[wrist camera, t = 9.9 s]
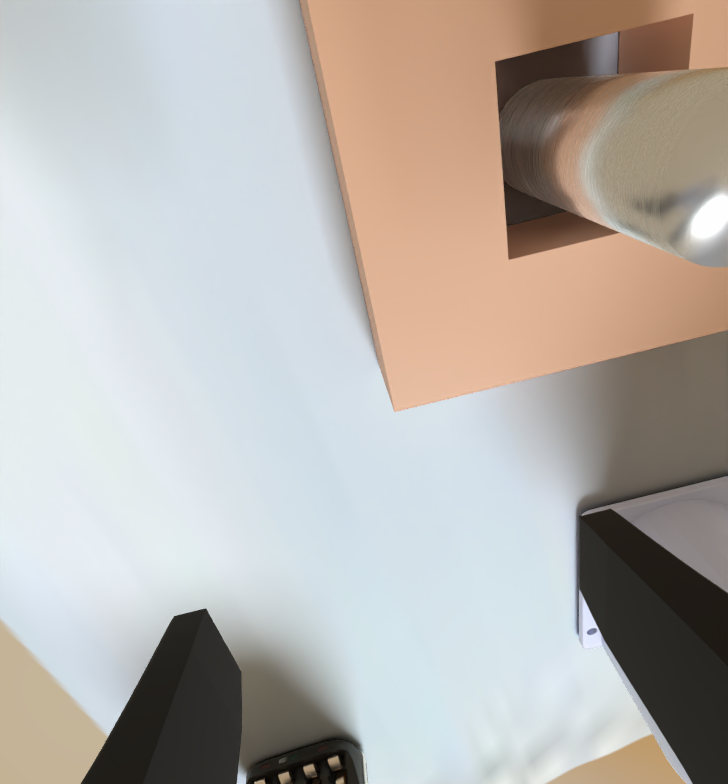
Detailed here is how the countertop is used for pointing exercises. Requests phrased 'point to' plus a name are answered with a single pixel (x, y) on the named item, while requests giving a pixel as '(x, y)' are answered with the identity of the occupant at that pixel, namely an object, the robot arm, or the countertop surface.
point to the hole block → (492, 193)
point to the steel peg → (628, 154)
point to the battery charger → (313, 766)
